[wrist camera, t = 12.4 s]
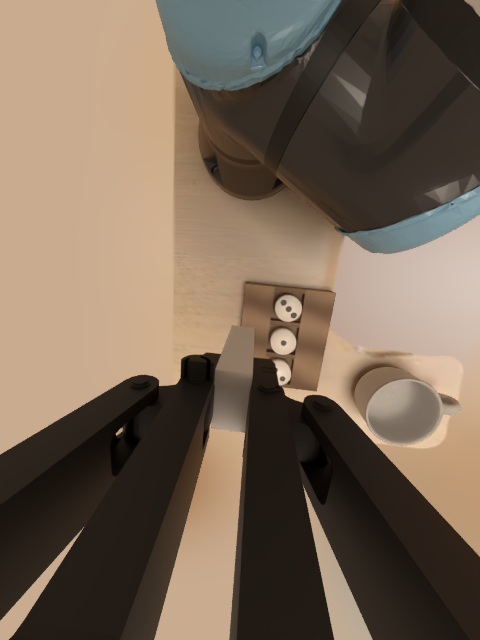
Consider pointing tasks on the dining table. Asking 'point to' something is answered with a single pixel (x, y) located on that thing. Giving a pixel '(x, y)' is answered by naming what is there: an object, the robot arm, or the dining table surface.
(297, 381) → the panel
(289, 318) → the button three
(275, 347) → the button one
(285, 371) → the button two
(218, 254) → the dining table surface
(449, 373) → the dining table surface
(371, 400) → the teacup
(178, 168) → the dining table surface
